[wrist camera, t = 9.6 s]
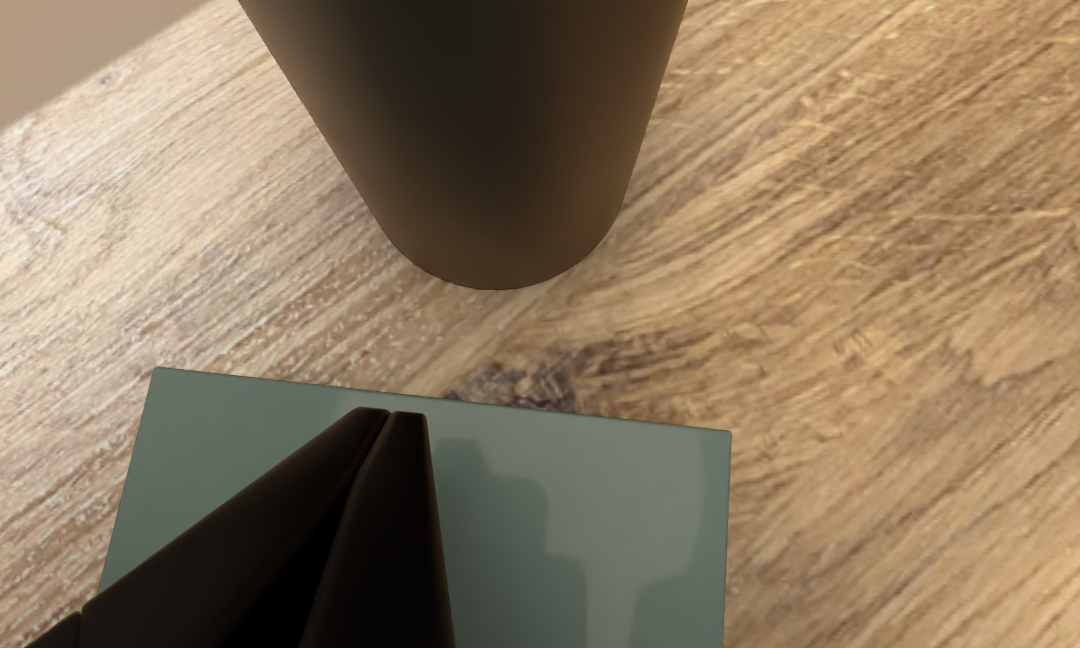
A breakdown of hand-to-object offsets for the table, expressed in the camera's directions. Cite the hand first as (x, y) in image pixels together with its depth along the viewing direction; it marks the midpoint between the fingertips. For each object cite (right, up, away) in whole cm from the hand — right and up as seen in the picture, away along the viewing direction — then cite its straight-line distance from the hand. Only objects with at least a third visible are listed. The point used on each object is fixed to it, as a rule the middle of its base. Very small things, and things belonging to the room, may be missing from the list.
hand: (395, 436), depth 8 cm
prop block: (0, -3, +6) cm, 6 cm away
